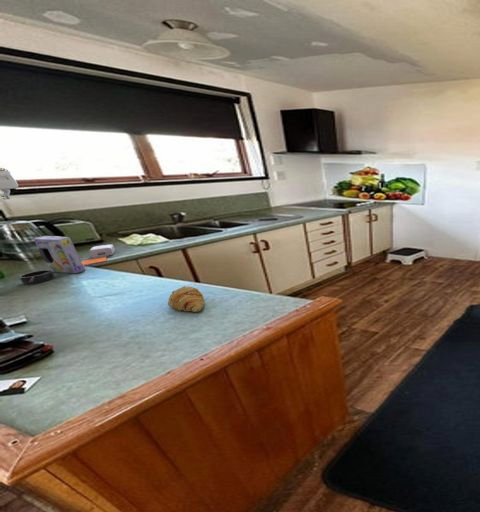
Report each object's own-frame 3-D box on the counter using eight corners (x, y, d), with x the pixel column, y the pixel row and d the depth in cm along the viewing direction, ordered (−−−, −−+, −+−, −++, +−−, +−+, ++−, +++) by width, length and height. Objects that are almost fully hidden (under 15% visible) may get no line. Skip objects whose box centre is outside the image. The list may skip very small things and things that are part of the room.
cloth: (79, 266, 141) (79, 265, 141) (81, 261, 148) (80, 261, 148) (106, 261, 147) (106, 260, 147) (106, 257, 154) (106, 256, 154)
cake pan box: (47, 271, 134) (31, 237, 128) (61, 268, 139) (46, 234, 133) (73, 275, 129) (58, 239, 123) (86, 271, 134) (72, 236, 128)
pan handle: (29, 284, 114) (27, 281, 114) (32, 279, 119) (31, 276, 118) (33, 283, 115) (32, 280, 114) (36, 278, 120) (35, 276, 119)
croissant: (211, 318, 96) (218, 296, 97) (179, 318, 88) (187, 294, 88) (185, 301, 107) (192, 282, 108) (155, 300, 99) (162, 279, 100)
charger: (116, 249, 169) (113, 254, 158) (96, 252, 164) (91, 258, 153) (114, 241, 168) (110, 247, 157) (93, 244, 162) (88, 250, 151)
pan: (21, 286, 117) (17, 279, 116) (25, 280, 124) (22, 273, 122) (52, 280, 123) (49, 273, 122) (55, 275, 129) (52, 268, 128)
